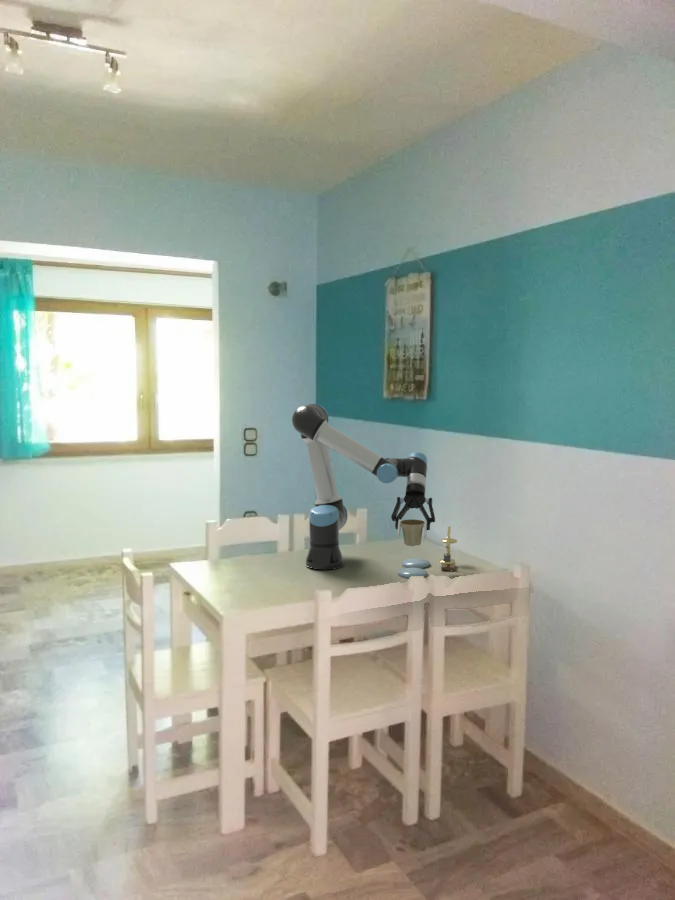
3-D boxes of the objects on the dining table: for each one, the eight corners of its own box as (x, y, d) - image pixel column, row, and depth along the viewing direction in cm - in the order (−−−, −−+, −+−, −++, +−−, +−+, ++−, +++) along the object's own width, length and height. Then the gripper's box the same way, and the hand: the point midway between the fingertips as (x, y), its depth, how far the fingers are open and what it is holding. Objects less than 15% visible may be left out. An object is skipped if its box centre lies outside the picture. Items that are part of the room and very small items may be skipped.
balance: (438, 575, 263) (438, 537, 262) (442, 560, 284) (442, 524, 282) (454, 576, 262) (455, 537, 260) (457, 560, 283) (457, 525, 281)
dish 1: (396, 577, 261) (396, 575, 261) (399, 569, 272) (399, 567, 272) (425, 579, 259) (425, 576, 259) (428, 570, 270) (428, 568, 270)
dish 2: (400, 568, 274) (400, 565, 274) (403, 560, 285) (403, 558, 285) (428, 569, 272) (428, 566, 272) (430, 561, 282) (430, 559, 282)
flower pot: (426, 547, 260) (426, 524, 259) (401, 547, 260) (400, 525, 259) (423, 541, 269) (423, 519, 268) (399, 541, 269) (399, 519, 268)
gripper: (444, 493, 275) (441, 542, 261) (389, 492, 279) (383, 540, 266) (443, 482, 269) (440, 532, 256) (387, 481, 274) (381, 530, 260)
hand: (411, 536), depth 261 cm, fingers closed on flower pot, 9 cm apart
